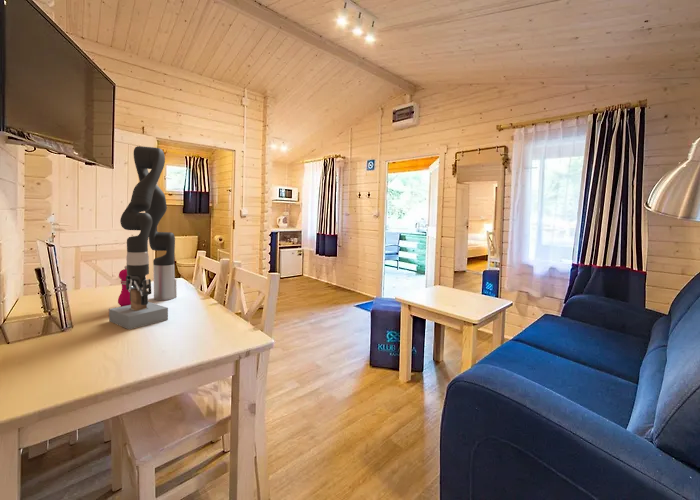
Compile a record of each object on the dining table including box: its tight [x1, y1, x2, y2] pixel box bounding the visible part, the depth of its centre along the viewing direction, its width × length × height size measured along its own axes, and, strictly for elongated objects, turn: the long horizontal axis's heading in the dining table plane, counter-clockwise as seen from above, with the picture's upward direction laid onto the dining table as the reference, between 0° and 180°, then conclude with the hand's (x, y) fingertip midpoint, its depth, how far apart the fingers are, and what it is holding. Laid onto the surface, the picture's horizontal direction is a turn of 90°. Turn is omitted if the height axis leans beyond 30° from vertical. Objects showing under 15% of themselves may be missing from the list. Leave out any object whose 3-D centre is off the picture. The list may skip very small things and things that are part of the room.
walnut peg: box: [131, 288, 147, 311], centre depth 138 cm, size 4×4×12 cm
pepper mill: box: [117, 265, 131, 307], centre depth 150 cm, size 7×7×20 cm
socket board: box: [108, 301, 169, 330], centre depth 139 cm, size 15×15×5 cm
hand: (138, 302), depth 138 cm, fingers open, 8 cm apart
